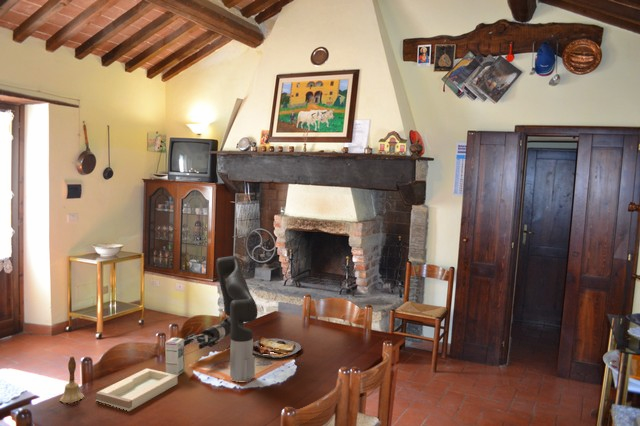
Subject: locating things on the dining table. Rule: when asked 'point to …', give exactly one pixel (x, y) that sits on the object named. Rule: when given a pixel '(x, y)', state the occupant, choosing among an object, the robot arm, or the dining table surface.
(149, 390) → the tray
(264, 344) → the food plate
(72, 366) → the hand bell
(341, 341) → the dining table surface
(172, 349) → the syrup box
